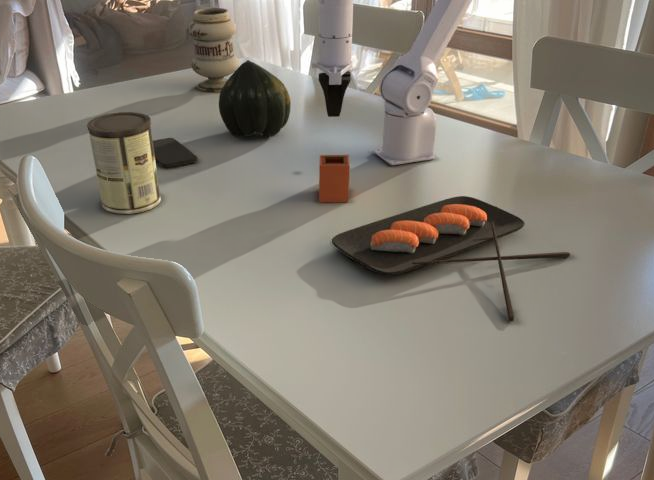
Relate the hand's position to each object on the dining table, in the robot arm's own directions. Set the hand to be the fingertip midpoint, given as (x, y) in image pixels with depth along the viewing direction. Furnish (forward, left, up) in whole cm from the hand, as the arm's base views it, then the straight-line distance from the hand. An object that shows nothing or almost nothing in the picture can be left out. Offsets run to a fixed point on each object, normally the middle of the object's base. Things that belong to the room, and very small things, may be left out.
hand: (333, 115), depth 129 cm
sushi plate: (-4, +42, -10) cm, 43 cm away
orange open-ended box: (+4, +10, -7) cm, 13 cm away
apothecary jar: (+6, -64, -10) cm, 65 cm away
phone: (+28, -19, -10) cm, 35 cm away
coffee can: (+38, +2, -10) cm, 40 cm away
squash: (+8, -25, -10) cm, 28 cm away
